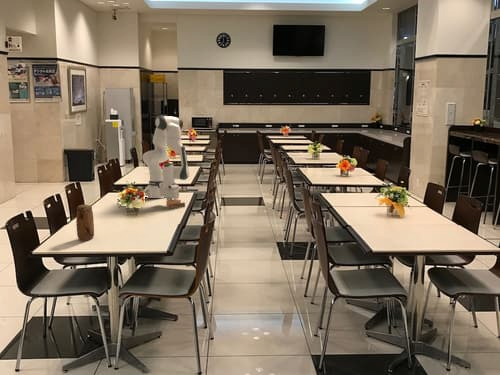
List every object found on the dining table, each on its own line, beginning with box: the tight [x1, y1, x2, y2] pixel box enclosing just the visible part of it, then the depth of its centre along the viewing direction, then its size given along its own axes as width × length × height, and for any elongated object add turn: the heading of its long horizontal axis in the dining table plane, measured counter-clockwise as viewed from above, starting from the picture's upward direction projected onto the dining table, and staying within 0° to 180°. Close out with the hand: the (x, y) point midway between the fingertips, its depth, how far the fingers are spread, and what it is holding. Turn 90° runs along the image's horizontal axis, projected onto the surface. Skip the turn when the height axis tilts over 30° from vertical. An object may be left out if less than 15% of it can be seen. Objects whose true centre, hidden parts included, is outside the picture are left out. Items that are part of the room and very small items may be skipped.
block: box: [75, 204, 95, 242], centre depth 300 cm, size 11×8×20 cm
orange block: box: [165, 198, 182, 209], centre depth 388 cm, size 6×9×5 cm, turn 141°
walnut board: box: [168, 202, 186, 210], centre depth 385 cm, size 2×13×3 cm, turn 135°
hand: (169, 203), depth 392 cm, fingers closed
